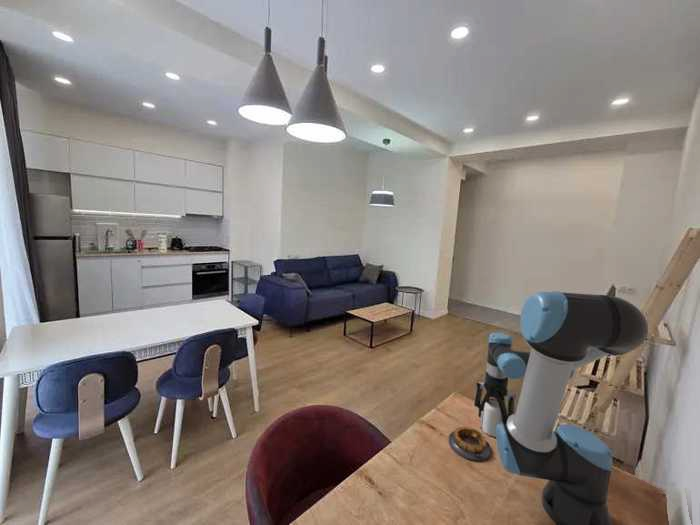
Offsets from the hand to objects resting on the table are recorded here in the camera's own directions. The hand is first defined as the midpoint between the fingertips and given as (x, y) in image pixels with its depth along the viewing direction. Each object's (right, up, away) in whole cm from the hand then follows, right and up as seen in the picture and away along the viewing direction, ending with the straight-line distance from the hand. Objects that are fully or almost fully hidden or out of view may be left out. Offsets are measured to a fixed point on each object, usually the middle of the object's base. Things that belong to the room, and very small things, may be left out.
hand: (491, 430), depth 112 cm
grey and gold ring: (-12, -1, -8) cm, 14 cm away
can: (0, -1, 0) cm, 1 cm away
